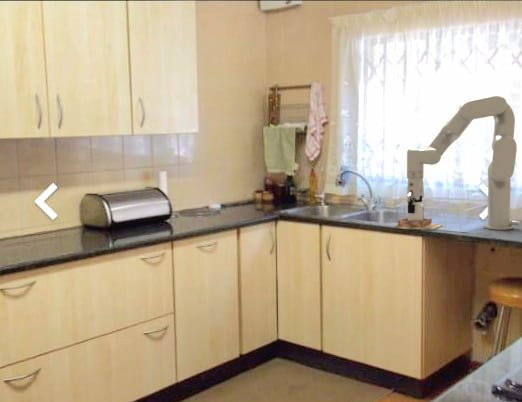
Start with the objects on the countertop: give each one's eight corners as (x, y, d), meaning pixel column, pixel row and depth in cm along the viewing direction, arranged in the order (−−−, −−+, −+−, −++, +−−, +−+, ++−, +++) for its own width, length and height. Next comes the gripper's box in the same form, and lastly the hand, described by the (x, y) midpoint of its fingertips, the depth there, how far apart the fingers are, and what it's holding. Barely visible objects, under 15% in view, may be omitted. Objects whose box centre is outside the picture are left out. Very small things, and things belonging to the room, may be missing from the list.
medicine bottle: (423, 221, 300) (423, 195, 299) (407, 220, 302) (407, 195, 301) (423, 218, 307) (423, 193, 306) (408, 218, 309) (408, 193, 308)
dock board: (442, 226, 305) (442, 218, 304) (432, 230, 293) (432, 223, 293) (406, 223, 315) (406, 216, 314) (395, 228, 303) (395, 220, 303)
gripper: (416, 177, 293) (416, 214, 295) (429, 174, 307) (428, 210, 309) (400, 176, 297) (400, 213, 299) (414, 173, 311) (413, 209, 314)
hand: (414, 211), depth 304 cm, fingers closed on medicine bottle, 8 cm apart
